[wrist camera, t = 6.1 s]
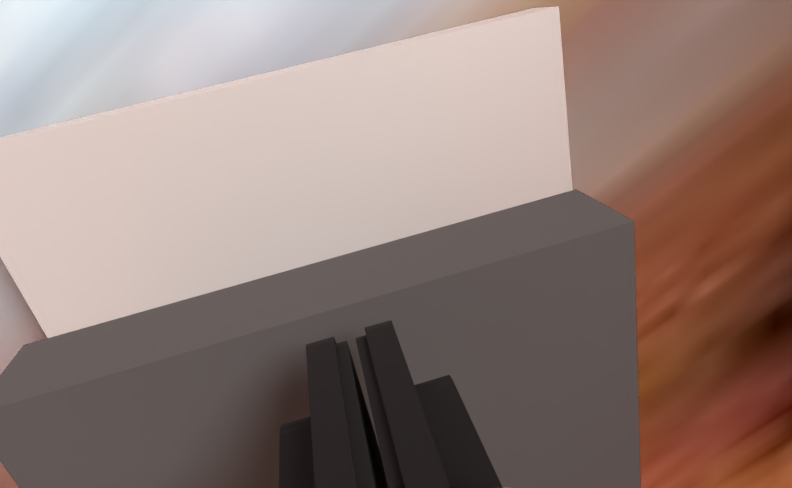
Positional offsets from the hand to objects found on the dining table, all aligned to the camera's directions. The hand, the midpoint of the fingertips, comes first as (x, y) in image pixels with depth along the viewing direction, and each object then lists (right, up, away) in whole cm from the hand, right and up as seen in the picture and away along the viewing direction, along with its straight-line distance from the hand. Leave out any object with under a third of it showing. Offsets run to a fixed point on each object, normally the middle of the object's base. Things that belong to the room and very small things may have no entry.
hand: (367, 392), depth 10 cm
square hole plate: (0, -4, +6) cm, 7 cm away
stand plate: (-2, -1, +13) cm, 13 cm away
